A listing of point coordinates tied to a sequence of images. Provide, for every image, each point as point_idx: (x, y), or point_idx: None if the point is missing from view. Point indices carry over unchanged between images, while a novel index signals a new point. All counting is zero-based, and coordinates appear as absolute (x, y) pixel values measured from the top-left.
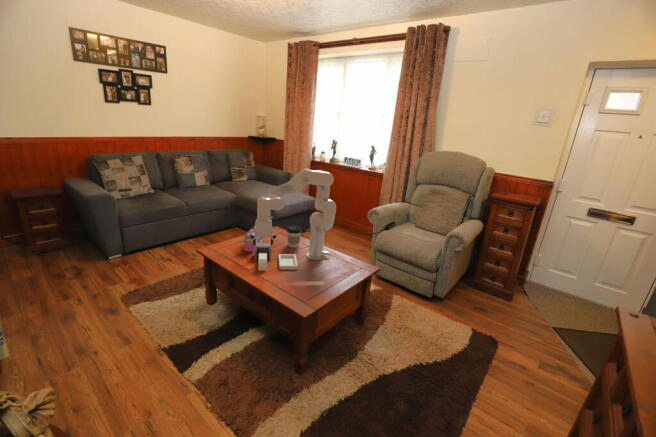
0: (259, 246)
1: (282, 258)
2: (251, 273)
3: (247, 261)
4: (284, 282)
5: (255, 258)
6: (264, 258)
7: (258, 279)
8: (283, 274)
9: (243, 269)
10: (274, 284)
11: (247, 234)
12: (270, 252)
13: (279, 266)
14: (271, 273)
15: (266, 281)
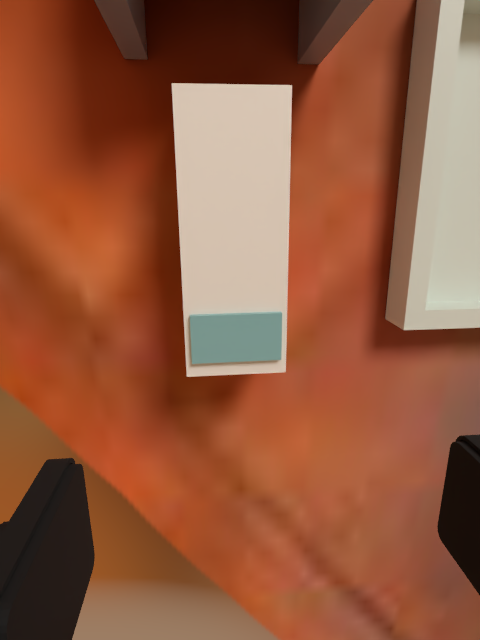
0: None
1: (462, 43)
2: (132, 398)
3: (43, 108)
4: (391, 523)
5: (131, 51)
6: (256, 278)
7: (201, 492)
8: (405, 407)
9: (41, 320)
10: (318, 551)
11: None
12: (347, 20)
13: (397, 302)
14: (307, 393)
15: (263, 517)
